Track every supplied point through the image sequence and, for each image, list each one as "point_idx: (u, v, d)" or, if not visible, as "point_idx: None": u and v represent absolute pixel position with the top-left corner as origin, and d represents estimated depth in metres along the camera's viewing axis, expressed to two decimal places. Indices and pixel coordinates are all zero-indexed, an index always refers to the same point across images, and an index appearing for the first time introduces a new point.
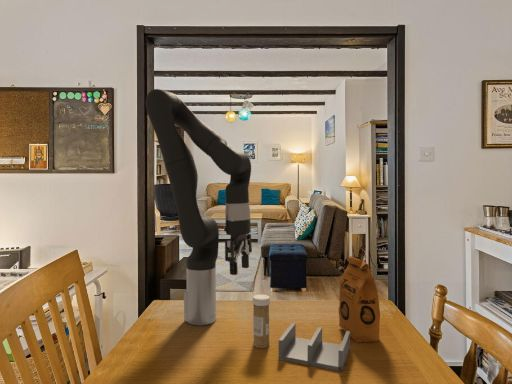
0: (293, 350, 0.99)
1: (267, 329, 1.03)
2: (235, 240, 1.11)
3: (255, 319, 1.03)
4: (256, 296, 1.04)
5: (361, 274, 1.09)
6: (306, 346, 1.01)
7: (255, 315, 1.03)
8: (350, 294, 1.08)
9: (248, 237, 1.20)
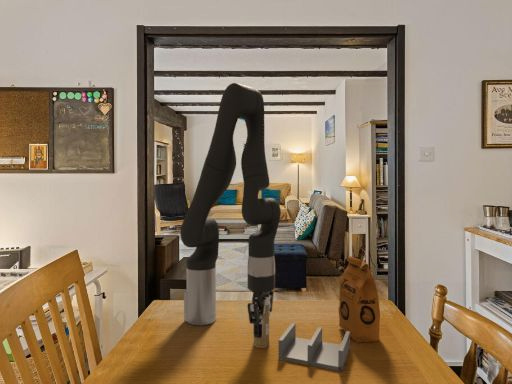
0: (293, 350, 0.99)
1: (267, 329, 1.03)
2: (258, 300, 1.00)
3: None
4: None
5: (361, 274, 1.09)
6: (306, 346, 1.01)
7: None
8: (350, 294, 1.08)
9: (270, 293, 1.09)
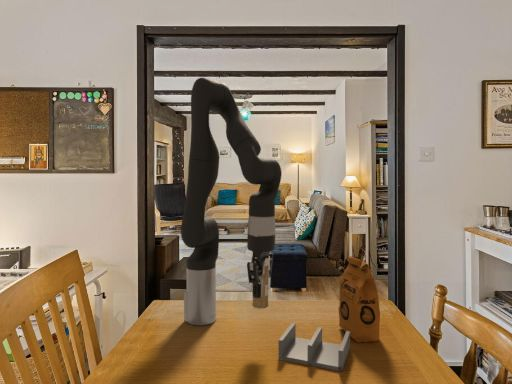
0: (293, 350, 0.99)
1: (266, 290, 1.02)
2: (258, 259, 0.99)
3: None
4: None
5: (361, 274, 1.09)
6: (306, 346, 1.01)
7: None
8: (350, 294, 1.08)
9: (270, 256, 1.08)
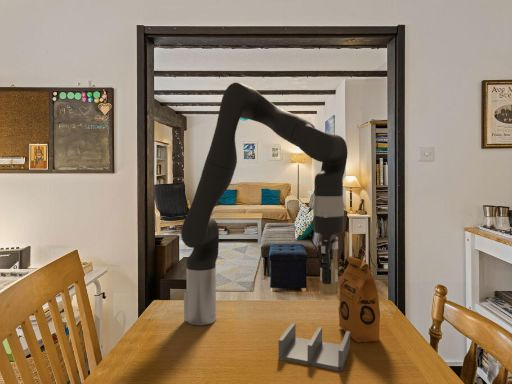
0: (293, 350, 0.99)
1: (336, 275, 0.95)
2: (328, 242, 0.92)
3: None
4: None
5: (361, 274, 1.09)
6: (306, 346, 1.01)
7: None
8: (350, 294, 1.08)
9: (335, 240, 1.01)
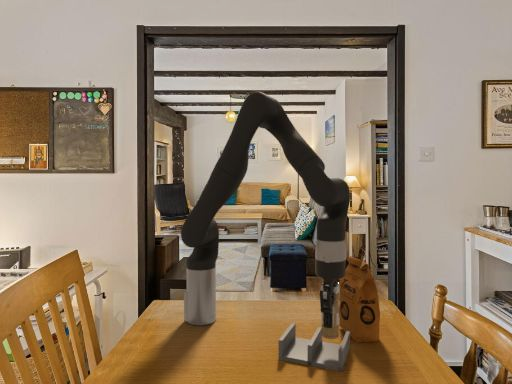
0: (293, 350, 0.99)
1: (337, 319, 0.96)
2: (330, 287, 0.93)
3: None
4: None
5: (361, 274, 1.09)
6: (306, 346, 1.01)
7: None
8: (350, 294, 1.08)
9: (337, 281, 1.01)
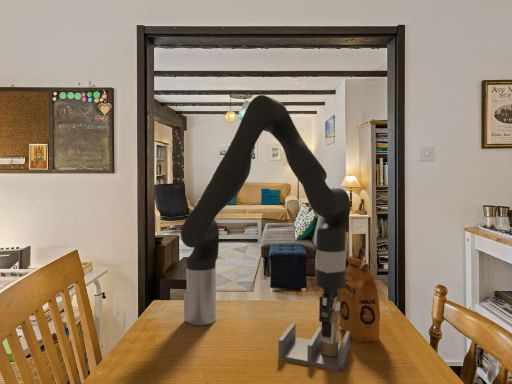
0: (293, 350, 0.99)
1: (337, 336, 0.96)
2: (330, 296, 0.93)
3: None
4: None
5: (361, 274, 1.09)
6: (306, 346, 1.01)
7: None
8: (350, 294, 1.08)
9: None
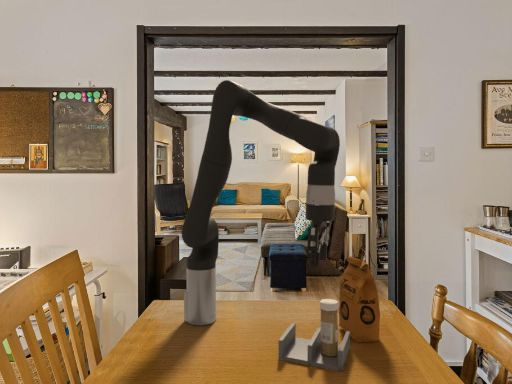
0: (293, 350, 0.99)
1: (336, 336, 0.96)
2: (319, 227, 0.97)
3: (323, 325, 0.96)
4: (323, 300, 0.97)
5: (361, 274, 1.09)
6: (306, 346, 1.01)
7: (323, 321, 0.96)
8: (350, 294, 1.08)
9: (327, 225, 1.05)
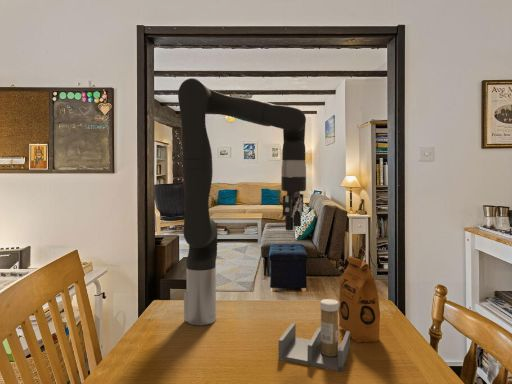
0: (293, 350, 0.99)
1: (337, 336, 0.96)
2: (292, 196, 1.13)
3: (324, 325, 0.96)
4: (324, 301, 0.97)
5: (361, 274, 1.09)
6: (306, 346, 1.01)
7: (324, 321, 0.96)
8: (350, 294, 1.08)
9: (301, 196, 1.22)
